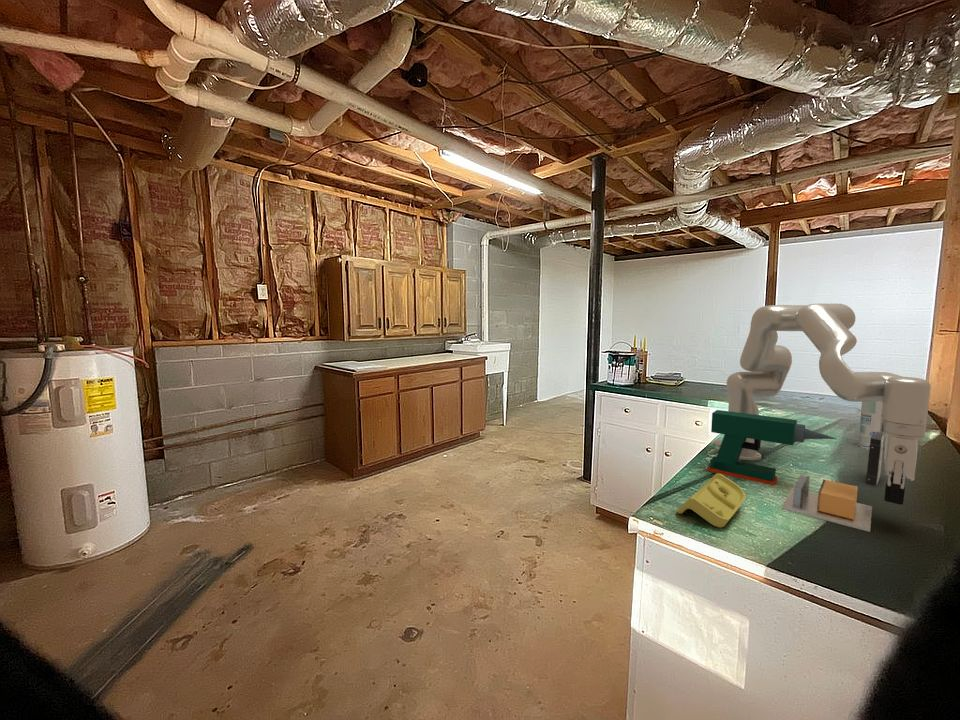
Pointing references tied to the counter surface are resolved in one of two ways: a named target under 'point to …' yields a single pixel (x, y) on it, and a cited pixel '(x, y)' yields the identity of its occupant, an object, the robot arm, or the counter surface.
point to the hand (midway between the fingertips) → (893, 501)
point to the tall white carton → (869, 422)
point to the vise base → (807, 505)
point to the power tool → (757, 429)
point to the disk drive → (875, 458)
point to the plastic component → (716, 500)
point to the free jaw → (837, 499)
